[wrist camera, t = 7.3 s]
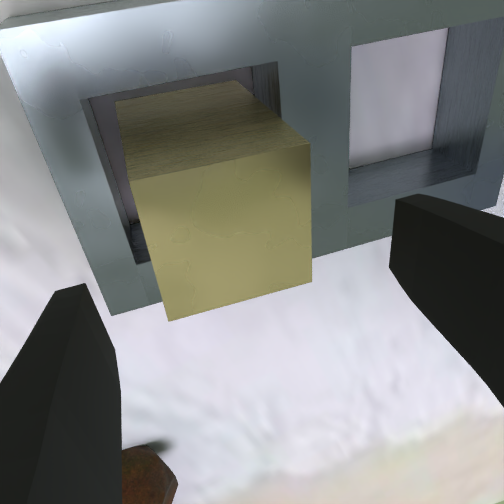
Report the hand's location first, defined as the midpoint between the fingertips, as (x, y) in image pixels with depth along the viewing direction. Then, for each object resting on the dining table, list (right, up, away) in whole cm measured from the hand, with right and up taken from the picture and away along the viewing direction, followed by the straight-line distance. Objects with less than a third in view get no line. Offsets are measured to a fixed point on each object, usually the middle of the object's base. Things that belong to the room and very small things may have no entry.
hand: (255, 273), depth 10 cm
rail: (+1, +6, +8) cm, 10 cm away
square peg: (-3, +5, +7) cm, 9 cm away
